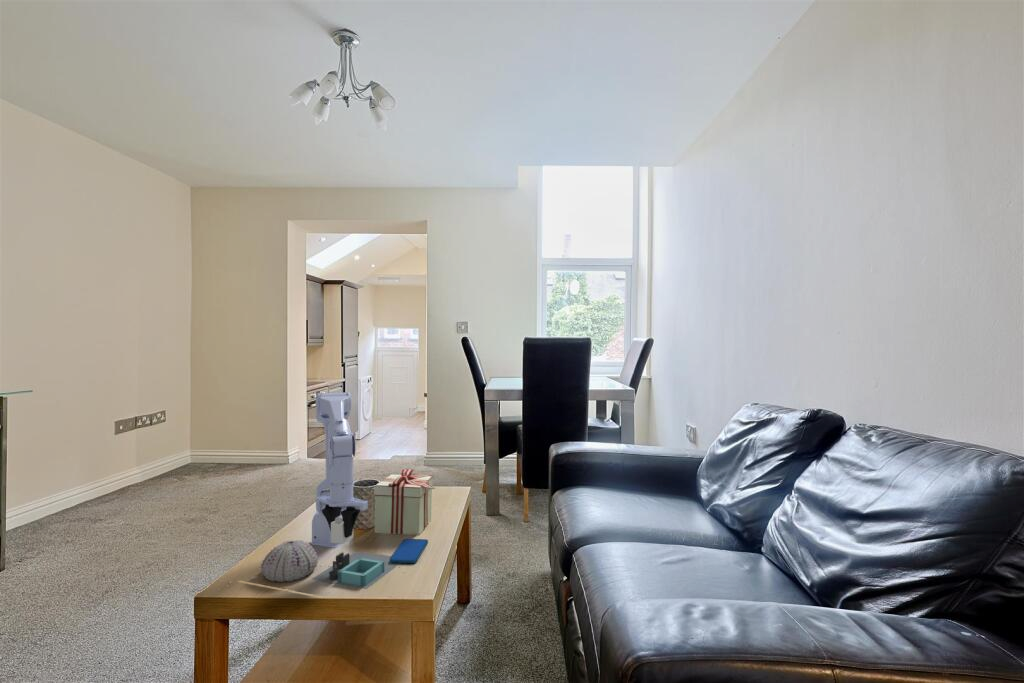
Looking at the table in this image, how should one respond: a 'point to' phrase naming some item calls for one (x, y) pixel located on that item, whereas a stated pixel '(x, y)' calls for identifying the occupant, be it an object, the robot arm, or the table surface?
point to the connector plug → (338, 531)
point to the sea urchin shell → (289, 561)
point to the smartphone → (409, 551)
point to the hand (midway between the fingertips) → (341, 535)
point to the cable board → (357, 569)
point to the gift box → (403, 503)
